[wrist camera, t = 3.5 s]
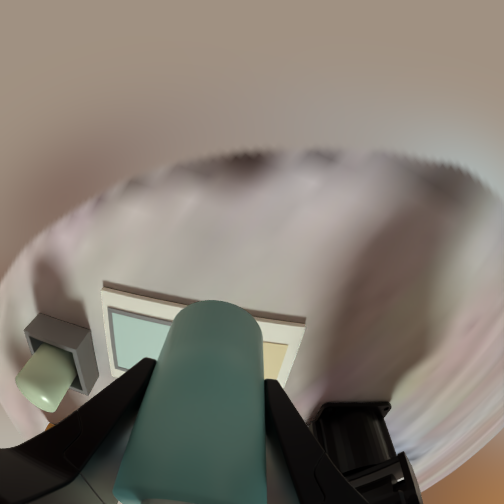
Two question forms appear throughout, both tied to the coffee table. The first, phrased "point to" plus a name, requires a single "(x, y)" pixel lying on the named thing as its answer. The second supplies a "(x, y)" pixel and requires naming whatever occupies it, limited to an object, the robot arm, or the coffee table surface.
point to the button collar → (66, 347)
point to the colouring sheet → (159, 322)
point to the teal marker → (201, 415)
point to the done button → (47, 376)
